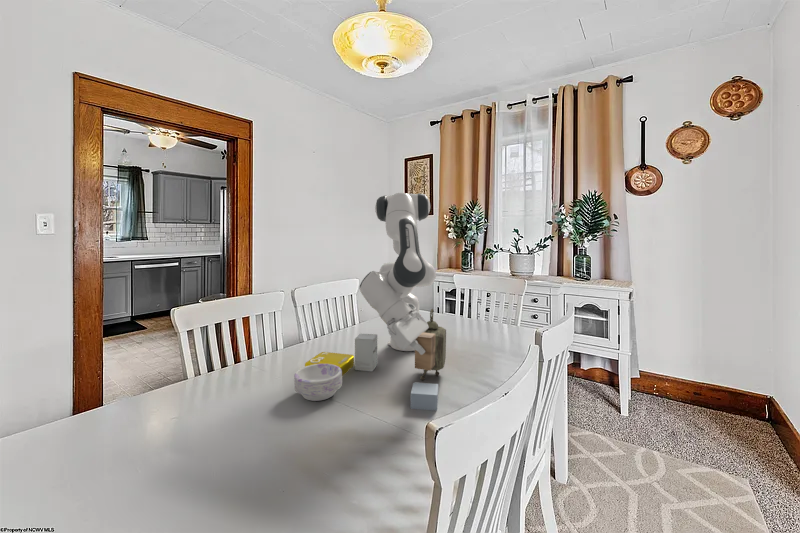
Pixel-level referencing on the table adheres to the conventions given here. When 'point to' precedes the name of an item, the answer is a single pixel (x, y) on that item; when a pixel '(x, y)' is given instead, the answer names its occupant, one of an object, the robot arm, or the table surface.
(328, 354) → the element tile
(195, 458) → the table surface
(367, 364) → the supplement box
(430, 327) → the tabletop clock
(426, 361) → the walnut pillar
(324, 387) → the paper bowls
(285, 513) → the table surface
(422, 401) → the slate block
